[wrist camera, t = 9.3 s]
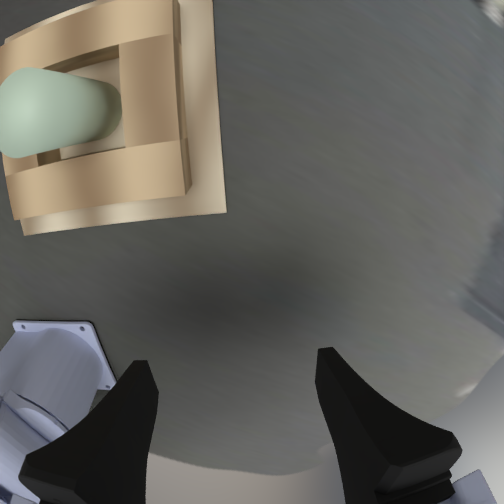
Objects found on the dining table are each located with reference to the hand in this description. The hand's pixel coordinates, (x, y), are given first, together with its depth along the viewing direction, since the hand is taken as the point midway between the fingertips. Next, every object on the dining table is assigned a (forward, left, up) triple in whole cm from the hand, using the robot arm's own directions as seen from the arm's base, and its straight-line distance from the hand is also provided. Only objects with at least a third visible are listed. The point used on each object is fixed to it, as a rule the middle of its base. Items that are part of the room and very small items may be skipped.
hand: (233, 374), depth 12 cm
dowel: (-8, +12, -10) cm, 17 cm away
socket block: (-8, +12, -10) cm, 18 cm away
